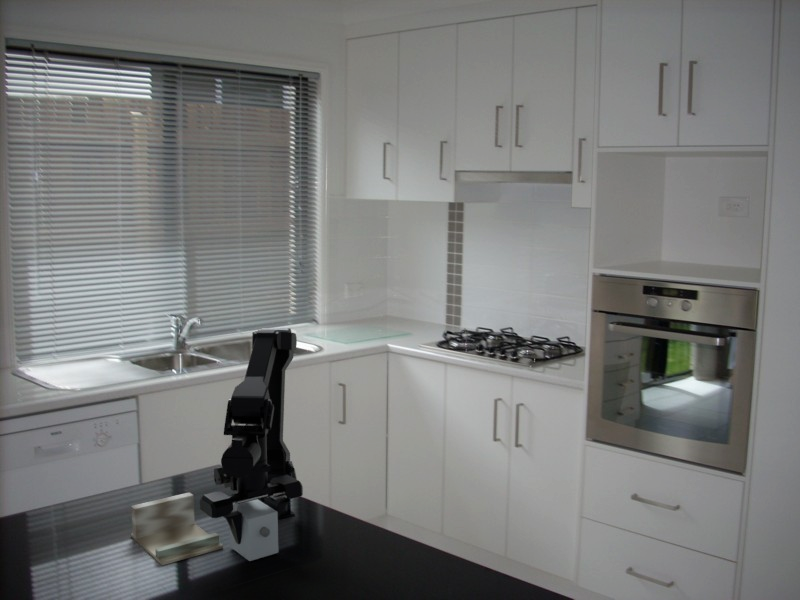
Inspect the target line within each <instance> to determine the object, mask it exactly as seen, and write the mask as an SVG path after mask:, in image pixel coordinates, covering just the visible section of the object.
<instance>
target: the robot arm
mask: <svg viewBox="0 0 800 600" xmlns="http://www.w3.org/2000/svg"><path fill="white" fill-rule="evenodd" d="M251 334H252V336H251V337H252V341H251V343H252V344H251V349H252V350H251V353H250V357H249V359H248V365H247V369H246V373H245V375H244V379H243V381H241V382H240V383H239V384H237V385H236V386H235V387H234V390H233V393H232V394H231V398H229V399H228V401H227V407H226V413H225V420H224V426H223V427H224V428H223V436H231V443H230V444H229V445H228V447H227V448H226V449H225V451H224V452H223V453H222V455H221V459H220V465H221V466H220V467H216V468H213V480H214V484H215V485H216V486H219V485H220V486H221V485H223V486H224V489H228V488H230V490H231V491H233V492H235V491H236V493H232V494H229V495H227V494H225V493H224V492H223V491H221V490H219V491H213V492H209V493H207V494H206V493H205V494H202V496H201V497H200V499H199V510H200V511H201V512H203V513H205V514H206V515H207V516H208V517H210V518H212V519H217V518H222V517H223V518H225V520H226V522H227V525H228V526H230V529H231V531H232V534H233V536H234V539H235V541H236V543H237V544H240V543H241V536H242V513H240V512H239V511H237V504H240V503H244V502H248V501H252V500H256V499H258V500H260V501H261V502H263V503H264V504H266V505H268V506H269V507H271V508H272V509H274V510H276V511H277V514H278V521H279V520H282V519H285V518H286V519H287V518H289V517H293V516H296V513H295V511H293V510H292V505H291V502H292V501H291V500H292V499H296V498H300V497H302V496H303V495H304V492H303V491H304V488H303V484H302V482H301V481H299V480H298V479H297V474H296V469H295V467H294V465H293V461H291V452H290V450H289V449H288V447H287V445H286V443H285V442H284V420H285V419H284V415H285V389H286V388H285V387H286V386H285V385H286V384H285V383H286V370H287V369H288V368H289V365H290V364H291V362H292V361H293V359H294V351H296V350H297V346H298V345H297V343H298V342H297V338H298V337H297V334H296V333H295V332H292V330H291V328H290V327H285V328H284V327H280V328H279V327H274V328H273V327H263V328H260V329H257V331H253V332H252V333H251ZM233 423H234V424H233Z"/></svg>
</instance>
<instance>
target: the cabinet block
mask: <svg viewBox="0 0 800 600" xmlns="http://www.w3.org/2000/svg"><path fill="white" fill-rule="evenodd" d="M237 511H239V512H240V513H242V536H241V543H240V544H237V543H236V541H235V539H234V536H233V534H232V531H231V529H230V526H229V525H228V526H229V527H228V529H229V530H228V532H229V534H228V535H229V547H230V548H231V549H232V550H234V551H235V552H237V553H238V554H239V555H240V556H242V557H243V558H244V559H245V560H247V562H248V561H249V562H251V561H255V560H259V559H261V558H265V557H269V556H272V555H275V554H278V553H279V524H278V523H279V522H278V521H279V520H278V514H277V511H276V510H274V509H272V508H271V507H269V506H268V505H266V504H264V503H263V502H261V501H260V500H258V499H256V500H252V501H248V502H244V503H240V504H237Z"/></svg>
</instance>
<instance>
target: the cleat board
mask: <svg viewBox="0 0 800 600" xmlns="http://www.w3.org/2000/svg"><path fill="white" fill-rule="evenodd" d="M194 498H195V497H194V494H192V493H191V492H190V491H189V492H185V493H181V494H175V495H173V496H168V497H163V498H159V499H155V500H150V501H146V502H142V503H138V504H134V505H131V506H130V508H131V509H130V510H131V511H130V513H131V528H132V531H131V532H132V533H130V537H131V539H133V540H134V541H135V542H136V543H137V544H138V545H140V546H141V548H142V549H144V550H145V551H146V552H147V553H148V554H150V556H152V557H153V558H154V559H155V560H156V561H157V562H158V563H159V564H160V565H161V566H164V565H169V564H171V563H175V562H178V561H182V560H186V559H190V558H193V557H196V556H200V555H203V554H207V553H211V552H214V551H218V550H221V549H223V548H224V547H223V546H224V545H223V544H222V543H221V542H220V534H218V532H213V533H208V532H206V530H204V529H202V528H201V527H200V526H199V525H197V524H196V523H195V522H196V521H195V501H194V500H195V499H194Z"/></svg>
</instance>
